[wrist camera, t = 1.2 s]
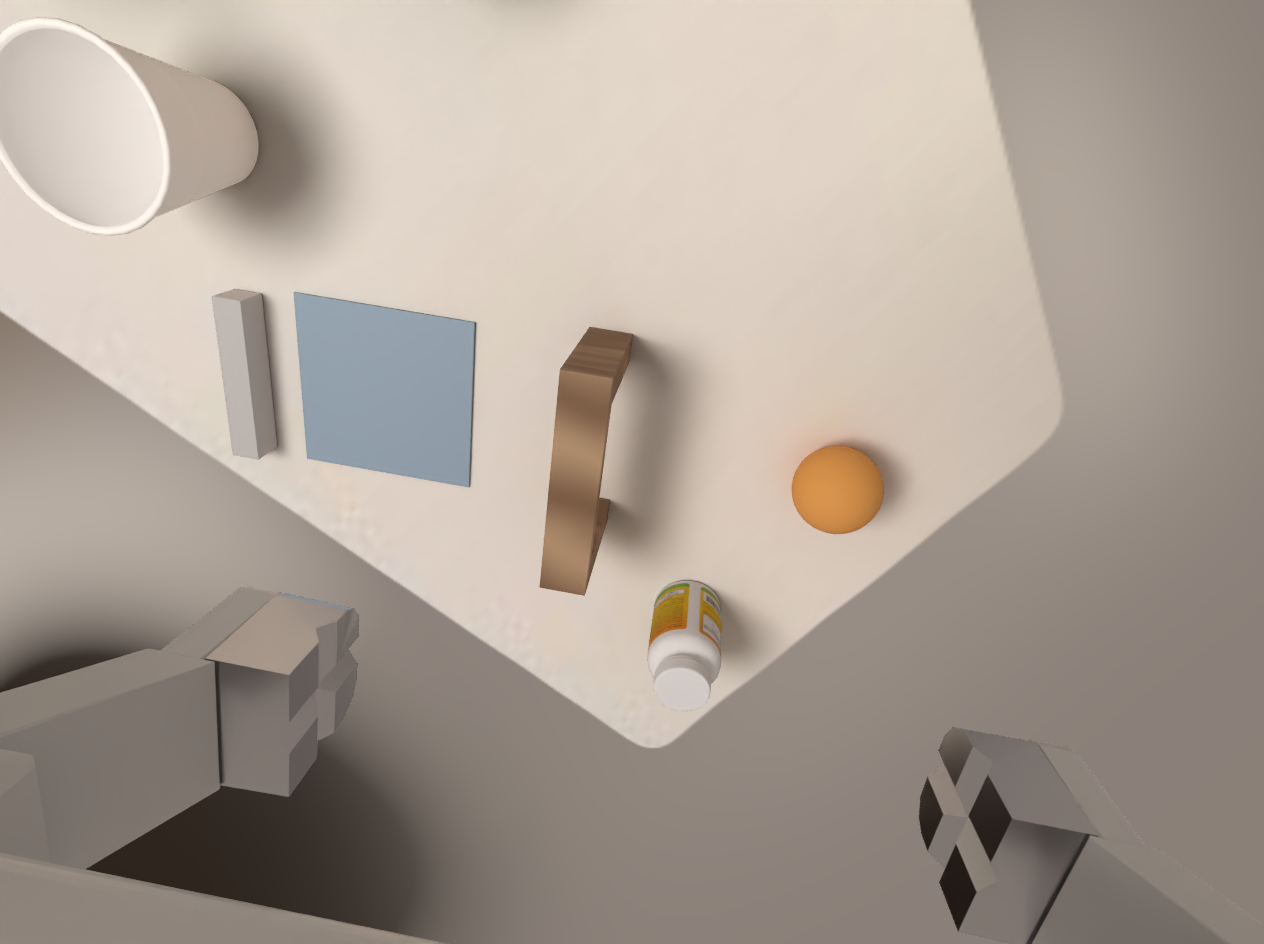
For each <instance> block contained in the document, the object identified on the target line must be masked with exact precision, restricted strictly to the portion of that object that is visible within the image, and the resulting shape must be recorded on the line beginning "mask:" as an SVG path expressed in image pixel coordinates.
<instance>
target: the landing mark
mask: <svg viewBox="0 0 1264 944" xmlns="http://www.w3.org/2000/svg"><path fill="white" fill-rule="evenodd" d="M294 302H295V315H296V327H297V339H298V351H299V364H300V376H301V388H302V400H303V413H304V425H305V437H306V449H307V459H313V460H318V461H324V462H330V463H335V464H341V465H346V466H352V467H358V468H363V469H369V470H374V471H380V472H386V473H391V474H397V475H402V476H408V477H414V478H419V479H425V480H431V481H436V482H442V483H447V484H453V485H459V486H464V487H469V485H470V456H471V428H472V399H473V371H474V343H475V322H471V321H465V320H459V319H453V318H447V317H441V316H435V315H429V314H423V313H417V312H411V311H405V310H399V309H393V308H387V307H381V306H375V305H369V304H363V303H357V302H351V301H345V300H339V299H333V298H327V297H321V296H315V295H309V294H303V293H297V292H294Z"/></svg>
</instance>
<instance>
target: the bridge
mask: <svg viewBox="0 0 1264 944" xmlns="http://www.w3.org/2000/svg"><path fill="white" fill-rule="evenodd" d="M632 337H633V334H629V333H623V332H617V331H611V330H605V329H599V328H593V327H589V329H588V330H587V332H586V333H585V334H584V336H583V337H582V339H581V340H580V342H579V343H578V344H577V346H576V347H575V349H574V350H573V352H572V353H571V355H570V356H569V357H568V359H567V360H566V362H565V363H564V365H563V366H562V367H561V369H560V375H559V386H558V396H557V407H556V418H555V429H554V439H553V450H552V461H551V471H550V482H549V493H548V503H547V514H546V525H545V536H544V546H543V557H542V568H541V578H540V588H546V589H551V590H557V591H562V592H568V593H573V594H578V595H584V596H585V593H586V589H587V586H588V583H589V579H590V576H591V573H592V569H593V566H594V563H595V559H596V556H597V553H598V549H599V546H600V543H601V539H602V536H603V533H604V529H605V526H606V523H607V516H608V509H609V502H610V500H609V499H604V498H599V496H600V488H601V480H602V473H603V465H604V458H605V450H606V442H607V435H608V427H609V419H610V412H611V404H612V402H613V400H614V397H615V395H616V392H617V390H618V387H619V385H620V383H621V380H622V378H623V375H624V373H625V371H626V368H627V366H628V363H629V358H630V351H631V344H632Z"/></svg>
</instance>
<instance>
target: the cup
mask: <svg viewBox="0 0 1264 944" xmlns="http://www.w3.org/2000/svg"><path fill="white" fill-rule="evenodd" d="M258 146H259V142H258V136H257V131H256V128H255V124H254V121H253V119H252V117H251V115H250V113H249V111H248V110H247V108H246V107H245V105H244V104H243V103H242V101H241V100H240V99H239V98H238V97H237V96H236V95H235V94H234V93H233V92H231V91H230V90H229V89H228V88H226V87H225V86H223V85H221V84H219V83H217V82H215V81H212V80H210V79H207V78H204V77H202V76H199V75H197V74H193V73H191V72H188V71H185V70H183V69H180V68H177V67H175V66H172V65H169V64H167V63H164V62H162V61H159V60H156V59H154V58H151V57H149V56H146V55H143V54H141V53H137V52H136V51H133V50H131V49H128V48H125V47H123V46H120V45H117V44H115V43H112V42H110V41H107V40H104V39H102V38H101V37H100V36H99V35H97V34H95V33H93V32H91V31H89V30H87V29H86V28H84V27H82V26H80V25H78V24H75V23H71V22H68V21H65V20H61V19H58V18H43V17H36V18H31V19H26V20H21V21H19V22H17V23H15V24H13V25H12V26H10V27H8V28H6V29H5V30H4V31H3V32H2V33H1V34H0V159H1V160H2V162H3V163H4V165H5V167H6V168H7V170H8V171H9V173H10V174H11V176H12V177H13V178H14V180H15V181H16V182H17V183H18V184H19V186H20V187H21V188H22V189H23V190H24V192H25V193H26V194H27V195H28V196H29V197H30V198H32V199H33V200H34V201H35V202H36V203H37V204H38V205H39V206H40V207H41V208H43V209H44V210H45V211H47V212H48V213H50V214H51V215H53V216H54V217H55V218H57V219H58V220H60V221H62V222H64V223H66V224H68V225H70V226H72V227H74V228H76V229H79V230H83V231H86V232H89V233H93V234H100V235H110V236H113V235H120V234H128V233H130V232H133V231H135V230H138V229H140V228H142V227H144V226H145V225H146V224H147V223H149V222H150V221H151V220H152V219H154V218H155V217H157V216H159V215H162V214H164V213H167V212H169V211H171V210H174V209H176V208H179V207H181V206H183V205H186V204H188V203H190V202H193V201H195V200H198V199H200V198H202V197H205V196H207V195H210V194H212V193H214V192H217V191H220V190H222V189H224V188H227V187H229V186H232V185H234V184H236V183H239V182H241V181H242V180H244V179H245V178H246V177H248V175H249V174H250V173H251V172H252V170H253V168H254V166H255V164H256V161H257V157H258Z"/></svg>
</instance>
